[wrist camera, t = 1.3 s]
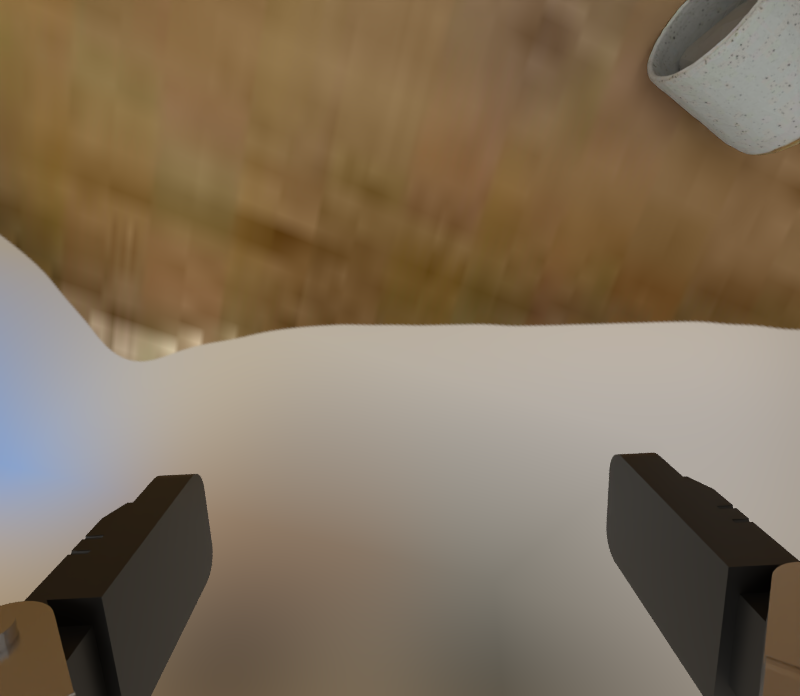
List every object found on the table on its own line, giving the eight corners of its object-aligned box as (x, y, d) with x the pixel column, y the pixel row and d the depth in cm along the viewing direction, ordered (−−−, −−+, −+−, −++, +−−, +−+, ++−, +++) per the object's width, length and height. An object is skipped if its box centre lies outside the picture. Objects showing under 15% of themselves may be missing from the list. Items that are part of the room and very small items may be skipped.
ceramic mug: (719, 155, 35) (799, 178, 28) (624, 77, 32) (686, 82, 26) (864, -13, 30) (1000, -34, 24) (767, -115, 28) (885, -170, 21)
